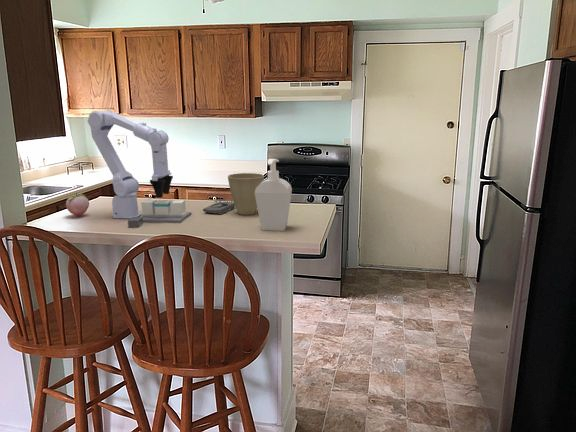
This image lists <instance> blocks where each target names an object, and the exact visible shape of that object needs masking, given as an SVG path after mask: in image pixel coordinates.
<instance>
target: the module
mask: <svg viewBox="0 0 576 432" xmlns="http://www.w3.org/2000/svg"><path fill="white" fill-rule="evenodd" d="M172 201H173V200H172V199H158V200H157V201H156V202H155V203H154V207H155V215H169V214H171V208H170V203H171V202H172Z"/></svg>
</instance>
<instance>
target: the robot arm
mask: <svg viewBox="0 0 576 432" xmlns="http://www.w3.org/2000/svg"><path fill="white" fill-rule="evenodd" d="M87 123H88V125H89V127H90V132H91V134H90V135H91V137H92V140H93V141H94V143H95V145H96V147H97V149H98V151H99V152H100V154H101V157H102V158H103V160H104V161H105V163H106V165H107V167H108V169H109V171H110V173H111V175H112V179H111V184H112V186H113V191H114V193H115V194H116V195H114V196H113V198H112V202H111V206H112V214H113V215H112V219H130V218H131V217H141V216H142V212H139V205H138V196H137V194H138V193H137V192H138V190H139V189H140V183H139V181H138V180H137V179H136V178H135V177H134V175H133V174H132V173H130V172H129V171H127V169H126V168H125V166H124V164H123V162H122V160H121V159H120V156H119V155H118V153H117V151H116V150H115V148H114V145H113V144H112V142H111V140H110V139H109V136H108V135H109V133H110V131H111V129H113V127H114V125H115V126H118V127H120V128H123V129H125V130H128V131H131V132H132V133H133V136H134V137H136V138H139V139H141V140H143V141H145V142H147V143H148V144H149V145H150V147H151V157H152V167H153V168H152V169H153V173H152V175H151V179H149V184H150V185H151V186H152V188H153V190H154V193H155V196H156V198H159V199H160V198H161V199H162V198H163V195H169V193H170V190H171V189H170V188H171V184H172V181H173V178H174V176H173V175H172V172H171V170H170V169H169V163H168V151H167V150H168V148H167V144H168V142H169V135H168V133H167V132H165V131H164V130H162V129H161V130H157V128H155V127H151V126H149V125H147V123H145V122H138V123H136V122H133V121H132V120H130V119H128V118H126V117H124V116H123V115H120V114H119V113H117V112H115V111H112V110H93V111H92V112H90V114H89V116H88V119H87Z"/></svg>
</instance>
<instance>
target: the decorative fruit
mask: <svg viewBox="0 0 576 432" xmlns="http://www.w3.org/2000/svg"><path fill="white" fill-rule="evenodd" d="M65 208H66V209H67V211H68V212H69V213H70V214H71V215H73V216H77V217H81V216H82V215H83V214H85V213H86V212H87V211H88V209H89V208H90V200H89V199H88V198H87V197H86V195H85V194H83V193H79V194H78V193H77V192H76V193H75V195H73V196H70V197H69V198H67V200H66V201H65Z"/></svg>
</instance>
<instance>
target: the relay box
mask: <svg viewBox="0 0 576 432" xmlns="http://www.w3.org/2000/svg"><path fill="white" fill-rule="evenodd" d="M143 224H144V222H143V218H142V216H138V217H131V218H128V220H127V225H128V229H132V228H133V229H136V228H141V227H142V225H143Z"/></svg>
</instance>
